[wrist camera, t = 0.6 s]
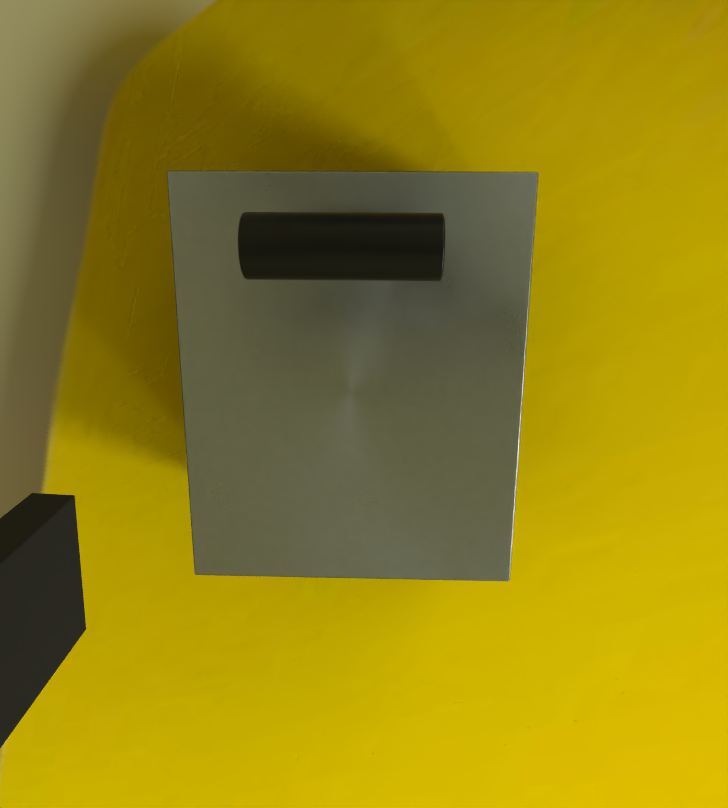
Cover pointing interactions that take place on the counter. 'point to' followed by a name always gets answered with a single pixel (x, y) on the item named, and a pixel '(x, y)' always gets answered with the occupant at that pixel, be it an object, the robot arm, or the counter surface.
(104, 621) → the counter surface
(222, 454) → the lid
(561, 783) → the counter surface
